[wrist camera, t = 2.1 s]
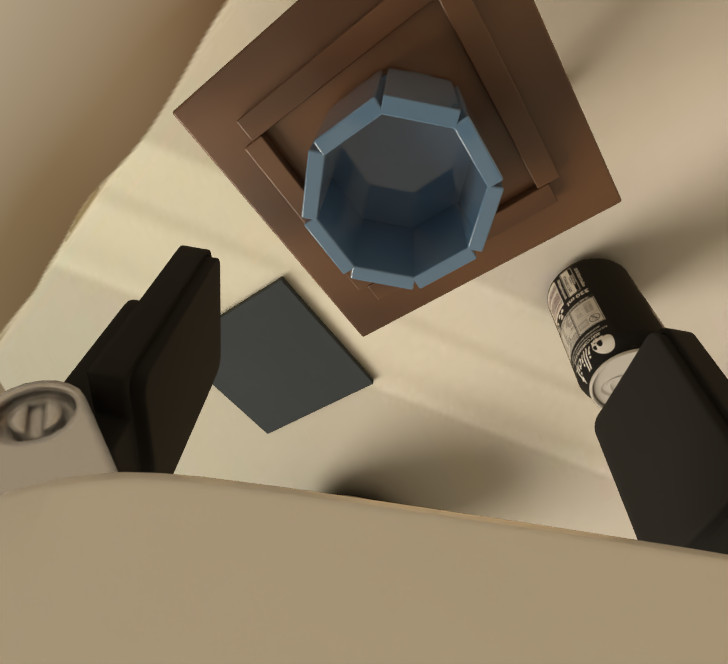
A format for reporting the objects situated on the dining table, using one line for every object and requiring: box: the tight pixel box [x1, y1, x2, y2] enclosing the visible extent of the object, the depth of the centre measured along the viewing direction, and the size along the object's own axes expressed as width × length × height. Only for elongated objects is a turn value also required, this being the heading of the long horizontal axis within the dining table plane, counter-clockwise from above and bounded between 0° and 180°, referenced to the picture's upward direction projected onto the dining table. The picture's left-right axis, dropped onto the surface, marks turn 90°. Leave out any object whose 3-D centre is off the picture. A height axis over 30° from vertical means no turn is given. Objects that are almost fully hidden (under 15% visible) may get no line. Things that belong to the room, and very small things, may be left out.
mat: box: [213, 277, 373, 434], centre depth 50 cm, size 14×14×1 cm
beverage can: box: [548, 259, 665, 409], centre depth 39 cm, size 7×7×12 cm
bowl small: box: [301, 68, 504, 290], centre depth 20 cm, size 7×7×5 cm
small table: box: [173, 0, 621, 336], centre depth 28 cm, size 14×14×17 cm
